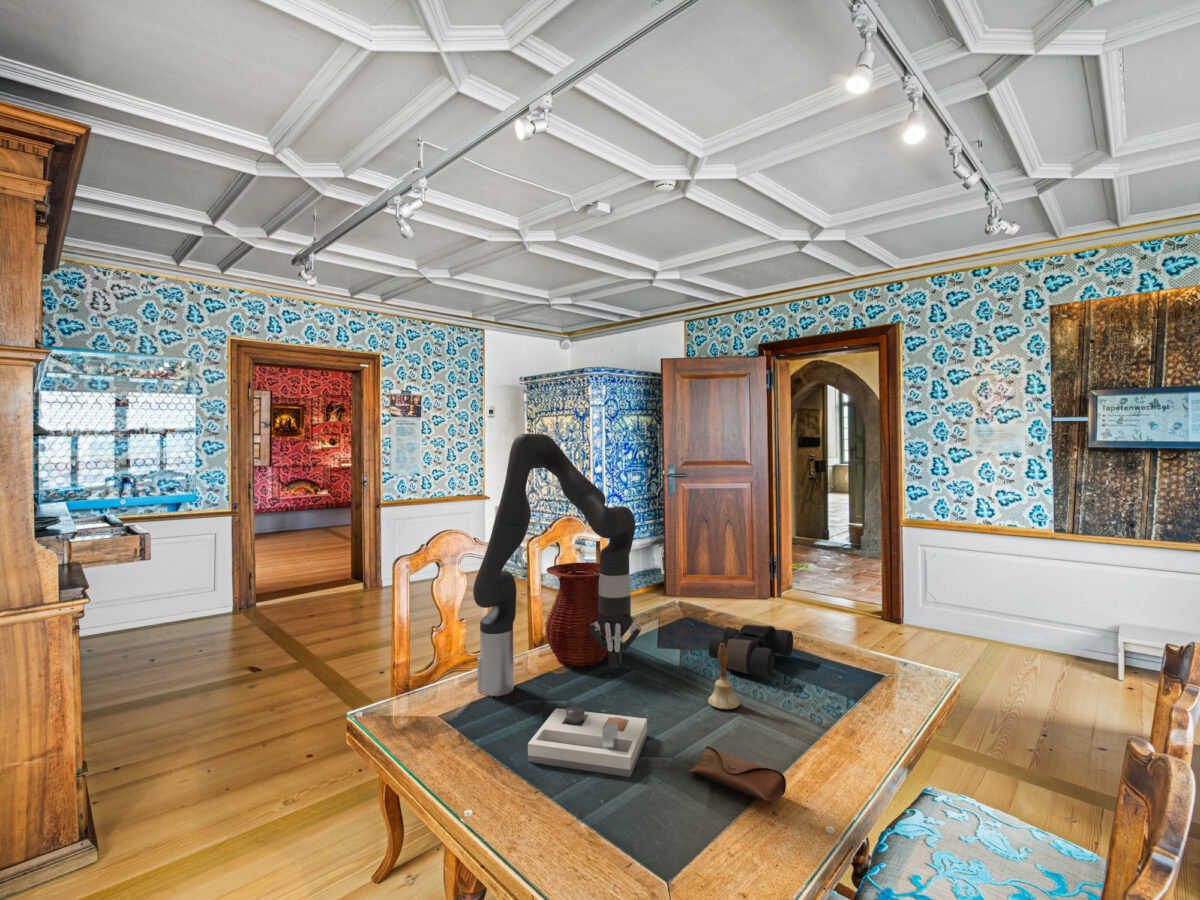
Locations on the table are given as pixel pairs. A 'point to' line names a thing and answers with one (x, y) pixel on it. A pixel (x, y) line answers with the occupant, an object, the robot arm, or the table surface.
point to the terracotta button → (619, 721)
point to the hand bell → (723, 685)
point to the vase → (575, 614)
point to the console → (587, 744)
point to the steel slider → (610, 736)
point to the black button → (575, 715)
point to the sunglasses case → (740, 775)
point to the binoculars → (753, 648)
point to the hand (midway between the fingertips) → (615, 666)
